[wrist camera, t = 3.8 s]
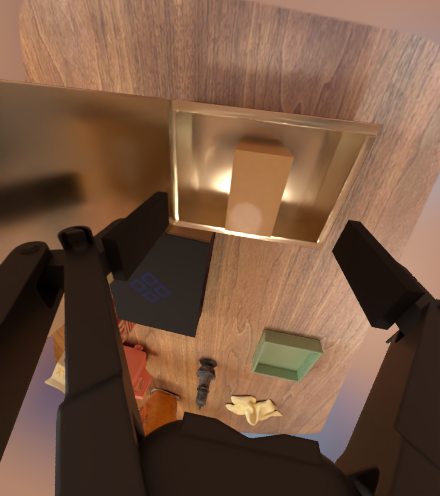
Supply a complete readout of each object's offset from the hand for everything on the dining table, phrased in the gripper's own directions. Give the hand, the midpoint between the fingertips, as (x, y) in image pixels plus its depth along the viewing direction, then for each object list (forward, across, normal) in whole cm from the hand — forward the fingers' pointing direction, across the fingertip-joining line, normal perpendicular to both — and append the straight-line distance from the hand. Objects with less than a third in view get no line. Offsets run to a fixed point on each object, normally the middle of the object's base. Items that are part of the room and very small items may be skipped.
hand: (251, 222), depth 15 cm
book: (+16, -14, -21) cm, 30 cm away
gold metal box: (+16, 0, 0) cm, 16 cm away
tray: (+16, +16, -44) cm, 50 cm away
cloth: (+16, +17, -85) cm, 88 cm away
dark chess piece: (+16, -3, -59) cm, 61 cm away
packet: (+15, 0, 0) cm, 15 cm away
